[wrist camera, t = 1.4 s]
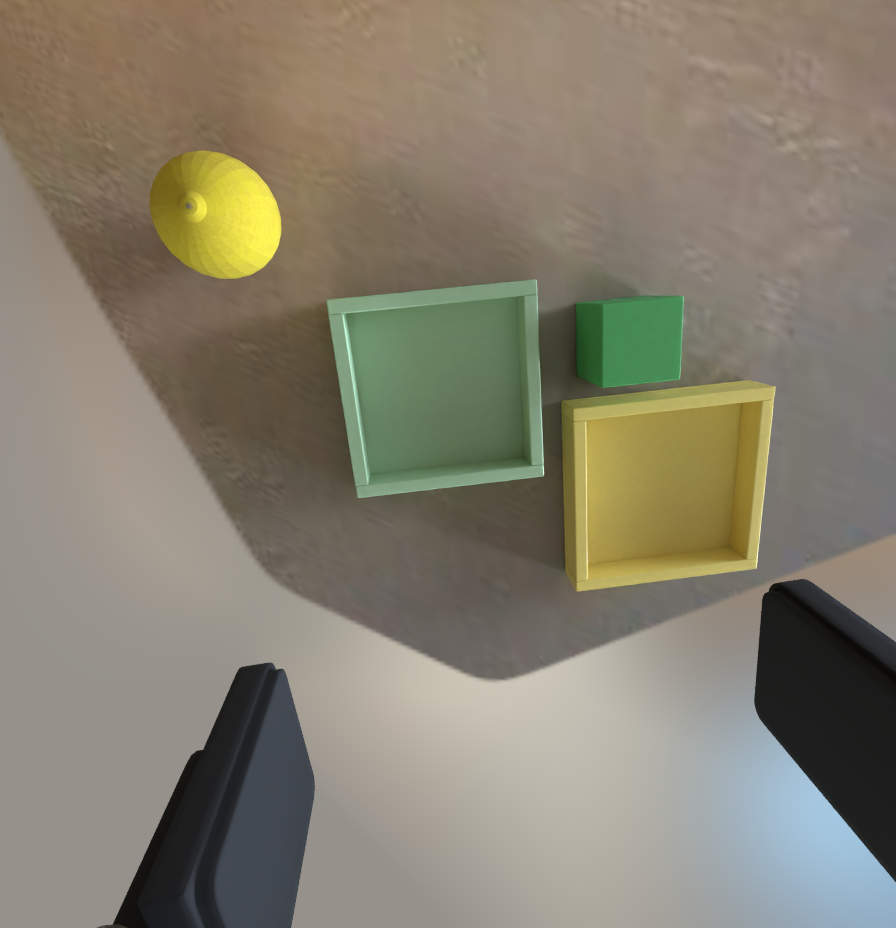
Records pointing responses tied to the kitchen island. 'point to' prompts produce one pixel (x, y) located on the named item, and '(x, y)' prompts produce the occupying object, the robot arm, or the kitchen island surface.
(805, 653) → the robot arm
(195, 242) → the lemon
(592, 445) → the yellow tray
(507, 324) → the green tray
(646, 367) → the green cube
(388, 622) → the kitchen island surface
